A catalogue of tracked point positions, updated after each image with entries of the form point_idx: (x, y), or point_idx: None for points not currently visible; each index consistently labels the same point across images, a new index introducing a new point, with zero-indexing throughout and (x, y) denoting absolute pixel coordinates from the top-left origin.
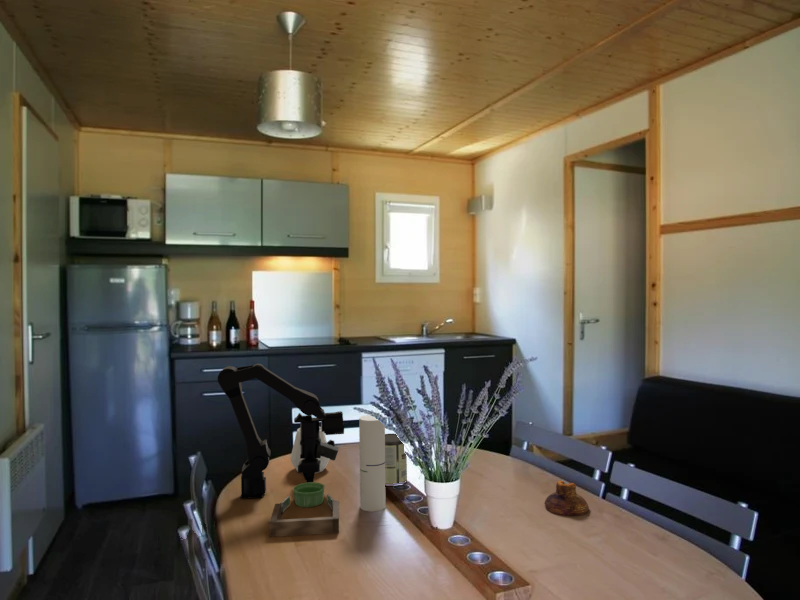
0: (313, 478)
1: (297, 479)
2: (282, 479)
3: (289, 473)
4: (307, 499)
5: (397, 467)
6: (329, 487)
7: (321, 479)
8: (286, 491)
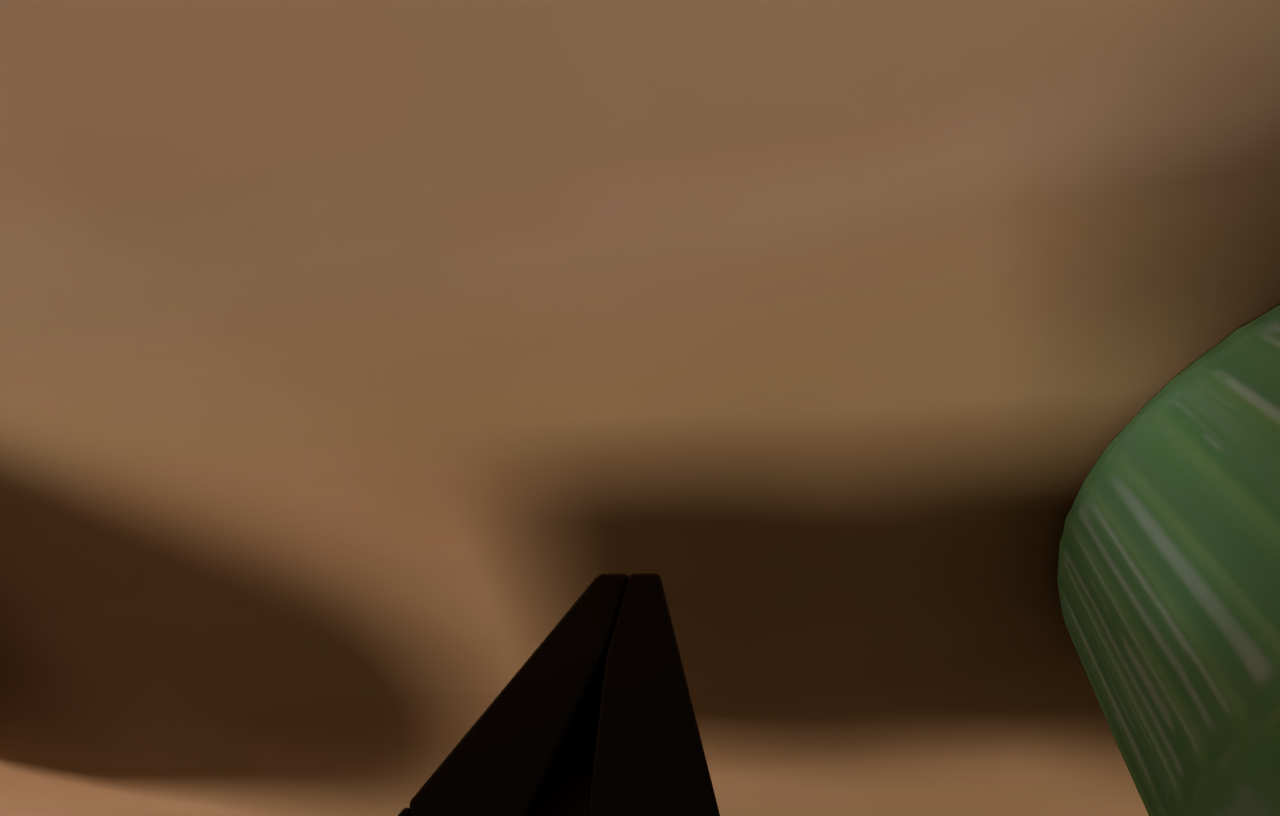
0: (711, 794)
1: (213, 704)
2: (284, 811)
3: (75, 764)
4: None
5: None
6: (397, 162)
7: (20, 414)
8: None
